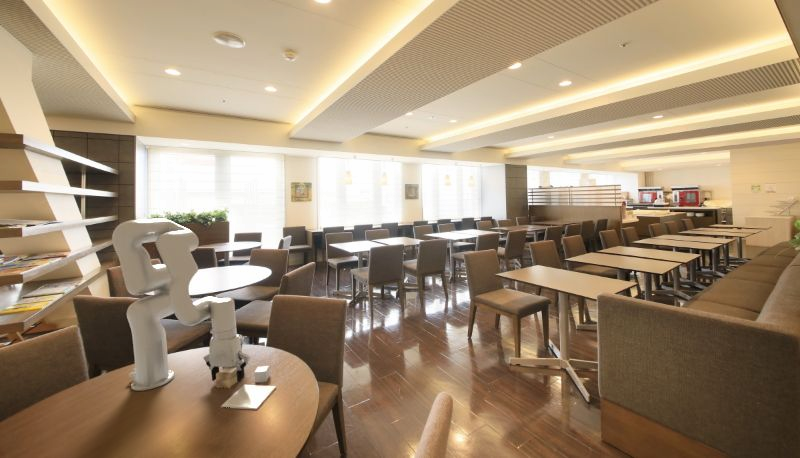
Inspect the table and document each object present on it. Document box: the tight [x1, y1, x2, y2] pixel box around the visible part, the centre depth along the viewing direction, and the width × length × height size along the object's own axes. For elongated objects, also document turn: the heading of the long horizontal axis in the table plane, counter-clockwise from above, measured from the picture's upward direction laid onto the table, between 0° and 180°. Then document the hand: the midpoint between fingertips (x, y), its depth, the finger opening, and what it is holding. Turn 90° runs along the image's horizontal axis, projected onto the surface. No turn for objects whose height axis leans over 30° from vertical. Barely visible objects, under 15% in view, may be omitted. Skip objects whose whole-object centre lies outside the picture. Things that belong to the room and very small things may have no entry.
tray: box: [221, 384, 277, 410], centre depth 108 cm, size 12×12×1 cm
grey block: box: [254, 365, 270, 383], centre depth 119 cm, size 4×4×4 cm
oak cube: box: [215, 367, 238, 389], centre depth 116 cm, size 5×5×5 cm
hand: (228, 379), depth 116 cm, fingers open, 9 cm apart
